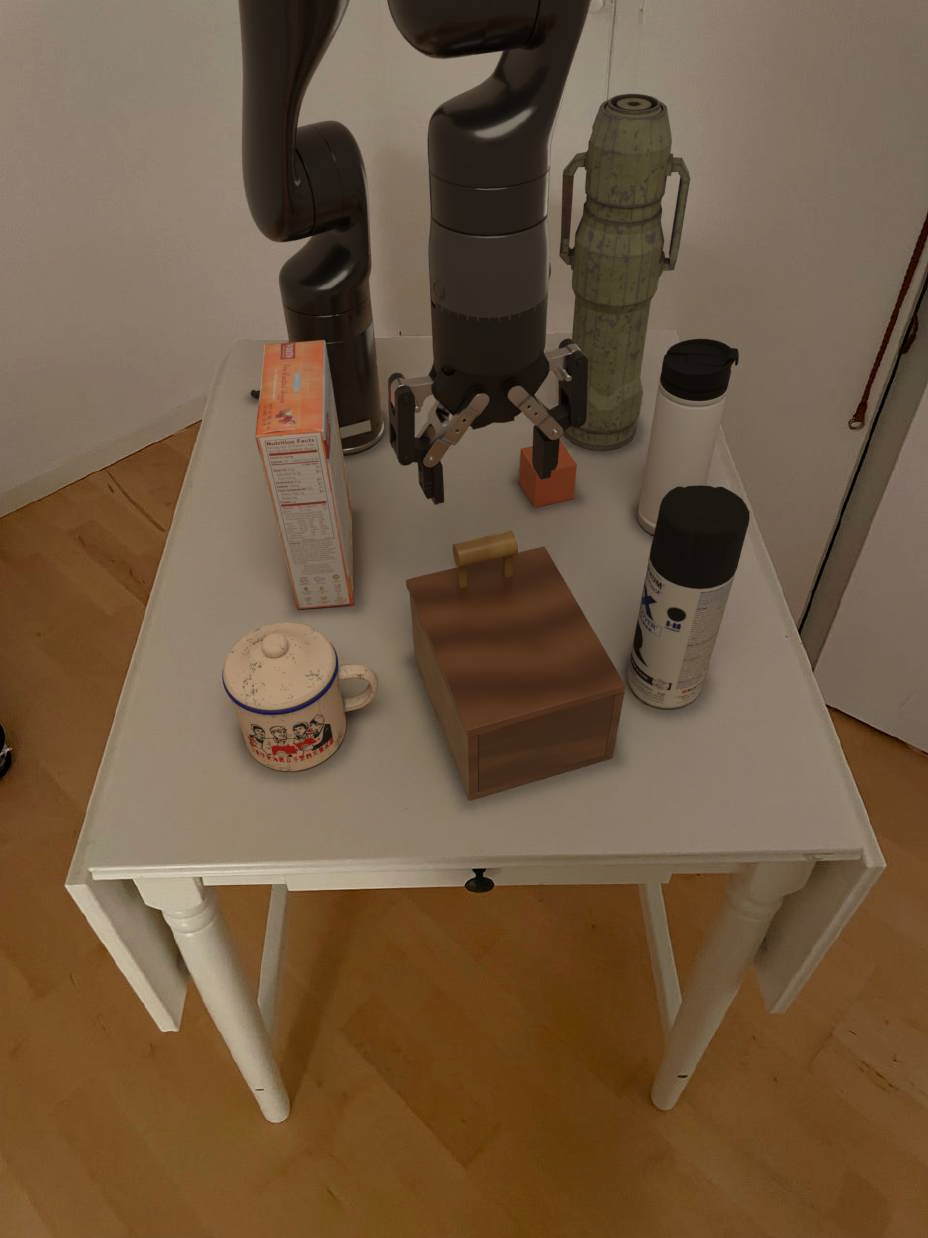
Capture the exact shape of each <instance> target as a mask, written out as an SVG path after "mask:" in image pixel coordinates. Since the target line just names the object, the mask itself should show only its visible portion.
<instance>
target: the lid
mask: <svg viewBox="0 0 928 1238" xmlns="http://www.w3.org/2000/svg"><path fill="white" fill-rule="evenodd" d="M451 548H452V550H451V551H452V555H453V556H452V557H453V560H454V563H455V565H456V567H453V568H448V569H444V570H440V571H436V572H431V573H428V574H423V575H419V576H415V577H411V578H406V579H405V585H406V589H407V591H408V594H409V597H410V596H411V599H412V601H413V603H414V606H415V608H416V611H417V613H418V616H419V618H420V620H421V623H422V625H423V628H424V630H425V633H426V635H427V638H428V640H429V642H430V645H431V647H432V650H433V652H434V655H435V657H436V660H437V662H438V664H439V667H440V669H441V672H442V674H443V677H444V679H445V681H446V684H447V686H448V689H449V691H450V694H451V696H452V699H453V701H454V703H455V706H456V708H457V711H458V713H459V716H460V718H461V721H462V723H463V725H464V728H465V730H466V733H467V735H468V736H470V735H474V734H477V733H481V732H485V731H488V730H492V729H495V728H499V727H502V726H506V725H509V724H513V723H516V722H520V721H524V720H527V719H531V718H534V717H538V716H541V715H545V714H548V713H552V712H555V711H559V710H562V709H566V708H570V707H573V706H577V705H580V704H584V703H587V702H591V701H594V700H598V699H601V698H605V697H608V696H612V695H616V694H619V693H623V692H624V693H625V691H626V684H625V682H624V680H623V679H622V677H621V675H620V673H619V672H618V669H617V668H616V666H615V665H614V663H613V661H612V660H611V657H610V656H609V654H608V652H607V651H606V648H604V646H603V644H602V643H601V641H600V639H599V637H598V636H597V633H596V632H595V630H594V629H593V627H592V625H591V623H590V622H589V620H588V618H587V616H586V615H585V613H584V611H583V609H582V608H581V606H580V604H579V603H578V601H577V599H576V597H575V596H574V594H573V593H572V591H571V589H570V588H569V586H568V584H567V582H566V579H564V577H563V576H562V574H561V572H560V570H559V569H558V567H557V565H556V563H555V562H554V560H553V558H552V556H551V555H550V553H549V551H548V549H547V548H546V546H545V545H543V546H538V547H535V548H531V549H526V550H522V551H519V544H518V540H517V537H516V534H515V533H514V532H513V531H512V530H508V531H504V532H500V533H494V534H491V535H487V536H483V537H478V538H474V539H470V540H466V541H465V540H464V541H461V542H457V543H453V544H452V547H451Z"/></svg>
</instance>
